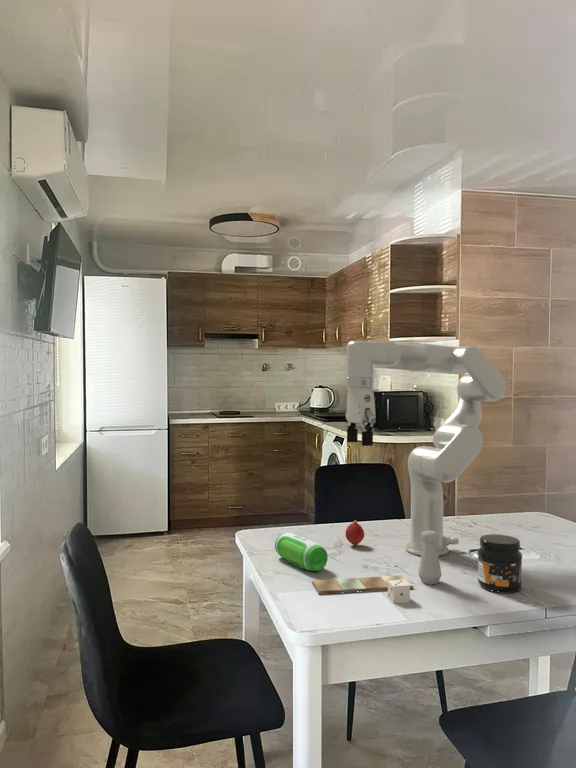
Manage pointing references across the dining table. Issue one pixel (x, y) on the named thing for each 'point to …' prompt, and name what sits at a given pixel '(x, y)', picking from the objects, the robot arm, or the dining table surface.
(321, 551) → the speaker
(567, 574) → the dining table surface
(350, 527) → the onion
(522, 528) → the dining table surface
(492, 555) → the supplement container
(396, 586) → the die
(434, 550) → the salt shaker
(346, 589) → the track
